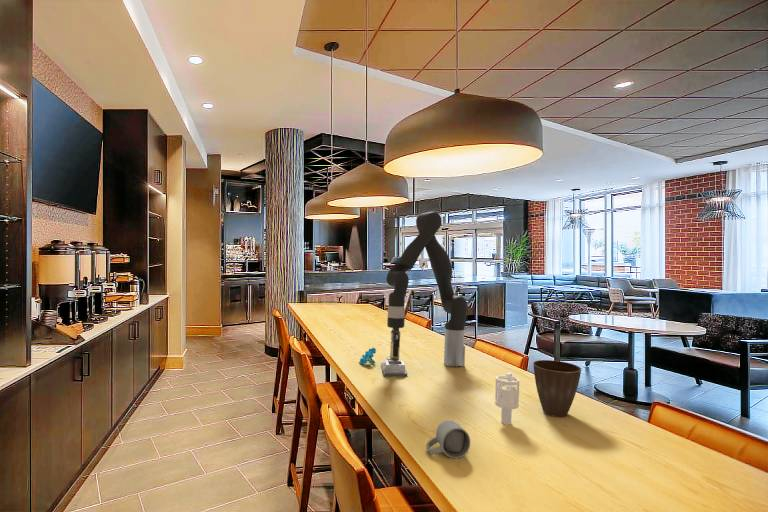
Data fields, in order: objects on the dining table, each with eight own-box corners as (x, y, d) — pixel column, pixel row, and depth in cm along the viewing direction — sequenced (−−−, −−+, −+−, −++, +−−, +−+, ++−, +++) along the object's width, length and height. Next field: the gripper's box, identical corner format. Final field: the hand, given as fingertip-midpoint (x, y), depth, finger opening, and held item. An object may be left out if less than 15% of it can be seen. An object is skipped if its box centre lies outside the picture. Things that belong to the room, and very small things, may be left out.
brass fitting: (398, 358, 183) (399, 340, 184) (399, 361, 180) (400, 342, 180) (389, 358, 183) (390, 340, 183) (390, 360, 179) (391, 342, 179)
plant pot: (575, 408, 144) (576, 362, 144) (584, 424, 130) (585, 373, 130) (530, 402, 148) (531, 358, 148) (533, 418, 134) (535, 369, 134)
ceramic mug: (459, 443, 114) (460, 415, 114) (470, 457, 106) (471, 428, 106) (422, 446, 113) (422, 417, 113) (430, 460, 104) (431, 430, 104)
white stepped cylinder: (520, 421, 131) (521, 374, 131) (515, 429, 125) (516, 379, 125) (498, 416, 135) (499, 370, 135) (491, 423, 129) (493, 375, 129)
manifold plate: (402, 365, 195) (402, 355, 195) (407, 376, 177) (407, 365, 177) (381, 365, 194) (381, 355, 194) (384, 376, 176) (384, 365, 176)
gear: (357, 357, 201) (372, 343, 201) (365, 365, 202) (380, 351, 202) (359, 366, 190) (375, 352, 190) (368, 375, 191) (384, 360, 191)
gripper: (406, 318, 175) (405, 359, 175) (402, 314, 189) (401, 351, 189) (388, 318, 174) (387, 359, 174) (386, 313, 188) (385, 351, 188)
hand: (394, 355), depth 181 cm, fingers closed on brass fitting, 4 cm apart
